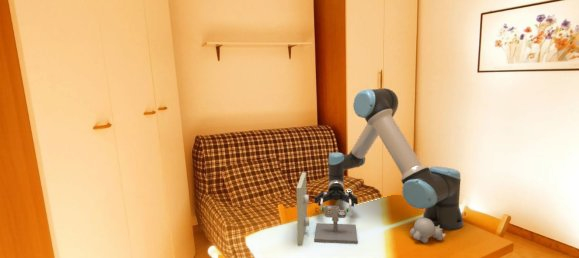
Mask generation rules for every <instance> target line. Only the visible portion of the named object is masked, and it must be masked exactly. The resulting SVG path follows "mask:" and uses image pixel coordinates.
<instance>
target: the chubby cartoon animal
mask: <svg viewBox="0 0 579 258" xmlns="http://www.w3.org/2000/svg"><path fill="white" fill-rule="evenodd" d="M439 226H440V225H438V226H434V223H433V222H432V221H431V220H430V219H428V218H423V217H420V218H417V219H416V220H415V222H414V225H413V227H412V228H411V229H410V231H409V234H411V236H413V239H414V240H417V241H421V243H423V244H427V243H428V241H429V238H430V237H433V238H435V239H436V240H437V241H439V242H440V241H443V240H444V237H446V233H443V230H444V229H441V228H439Z"/></svg>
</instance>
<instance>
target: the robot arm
mask: <svg viewBox="0 0 579 258" xmlns="http://www.w3.org/2000/svg"><path fill="white" fill-rule="evenodd" d="M398 107H399V99H398V96H397V94H396V93H395V92H394V91H393V90H391V89H390V88H385V87H384V88H377V89H376V88H375V89H370V88H367V89H364V90H363V89H362V90H360V91H358V93H357V94H356V95H355V97H354V100H353V107H352V108H353V111H354V113H355V115H356V116H357V117H359V118H361V119H363V118H364V120H365V121H366V125H365V126H364V128H363V130H362V132H361V133H360V135H359V136H358V139H356V142H355V144H354V145H353V147H352V148H351V149H350V152H349V153H347V154H344V153H342V152H337V151H336V152H331V153H329V155H328V161H327V162H328V188H327V192H325V191H324V190H321V191H320V193H318V194H317V195H316V196H315V197H314V203H315V204H317V205H318V206H320V211H322V207H324V203H326V202H328V201H332V200H333V201H339V200H340V201H341V202H343V201H344V202H345V203H347V204H348V208H349V212H352V207H355V205H358V202H359V201H358V200H359V198H358V197H356V196H355V195H354V194H353V193H352V191H348V192H345V186H344V184H345V179H344V178H345V177H344V175H345V171H346V170H350V169H351V170H352V169H355V168H360V167H362V166H364V165H365V163H366V155H367V154H368V152H369V150H370V149H371V148H372V146H373V144H374V143H375V141H376V140H377V138H378V137H379V138H380V140H381V141H382V143H383V145H384V146H385V149H387V152H388V154H389V155H390V156H391V158H392V160H393V162H394V163H395V165H396V167H397V168H398V170H399V171H400V173H401V178H400V179H401V180H400V181H401V183H402V184H403V186H402V192H401V193H402V196H403V199H404V200H405V201H406V203H408V205H409V206H411V207H412V208H415V209H418V210H424V211H423V214H422V215H423V216H422V218H428V219H430V220H431V221H432V222H433V223H434V226H438V225H440V226H439V228H441V229H443V230H447V231H449V230H450V231H451V230H458V229H461V228H462V227H464V218H463V215H462V212H461V208H460V193H461V192H460V191H461V190H460V189H461V172H460V171H459V170H458V169H455V168H450V167H447V166H446V167H444V166H430V167H428V166H426V165H423V164H422V163H421V161H420V159H419V157H418V156H417V154H416V153H415V150H413V148H412V146H411V145H410V143H409V142H408V140H407V138H406V137H405V135H404V134H403V132H402V131H401V129H400V127H399V125H398V124H397V123H396V121H395V119H394V118H393V117H394V116H395V114H396V112H397V110H398Z"/></svg>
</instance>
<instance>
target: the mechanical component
mask: <svg viewBox="0 0 579 258" xmlns="http://www.w3.org/2000/svg"><path fill="white" fill-rule="evenodd" d="M321 211H322V212H323V216H324V217H326V218H331V221H332V222H333V223H332V224H334V232H337V230H338V227H337V224H338V222H339V219H345V218H346V217H347V214H348V213H349V212H350V209H349V207H347V206H344V209H342V210H341V209H340V207H339V205H326V204H325V205H324V204H323V207H322V210H321Z"/></svg>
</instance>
